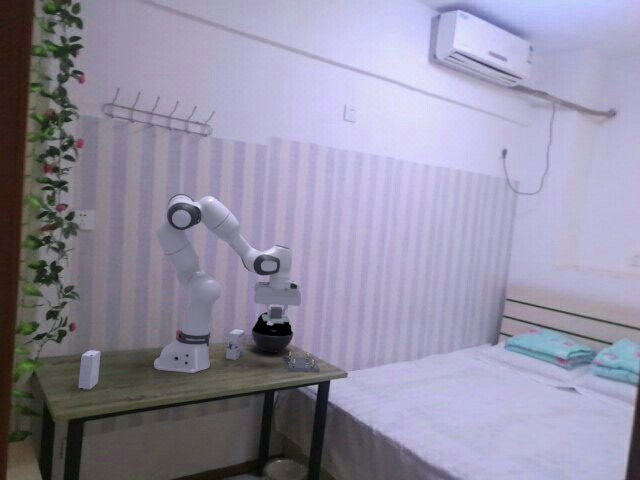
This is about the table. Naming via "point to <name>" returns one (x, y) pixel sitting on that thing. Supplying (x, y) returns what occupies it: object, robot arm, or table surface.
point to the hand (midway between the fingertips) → (275, 314)
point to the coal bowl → (271, 335)
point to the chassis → (300, 364)
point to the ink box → (235, 344)
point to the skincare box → (89, 369)
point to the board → (274, 320)
